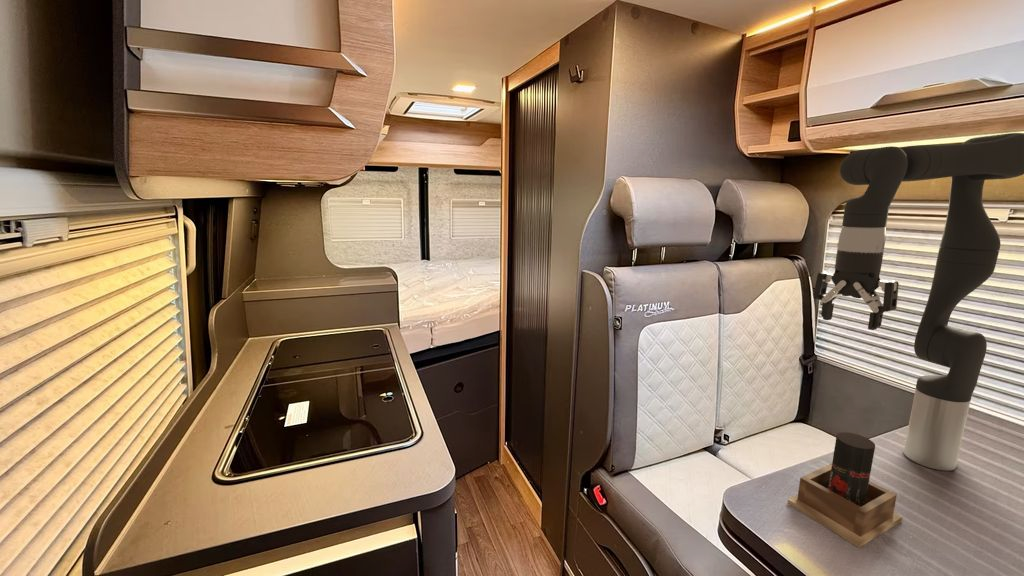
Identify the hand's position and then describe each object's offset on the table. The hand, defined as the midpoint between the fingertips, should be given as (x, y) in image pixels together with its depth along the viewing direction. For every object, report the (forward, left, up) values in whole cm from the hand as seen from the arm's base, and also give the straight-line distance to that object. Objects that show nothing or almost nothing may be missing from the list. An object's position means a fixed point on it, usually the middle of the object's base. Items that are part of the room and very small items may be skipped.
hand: (848, 324), depth 92 cm
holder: (+10, +9, -36) cm, 38 cm away
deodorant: (+10, +9, -35) cm, 38 cm away
